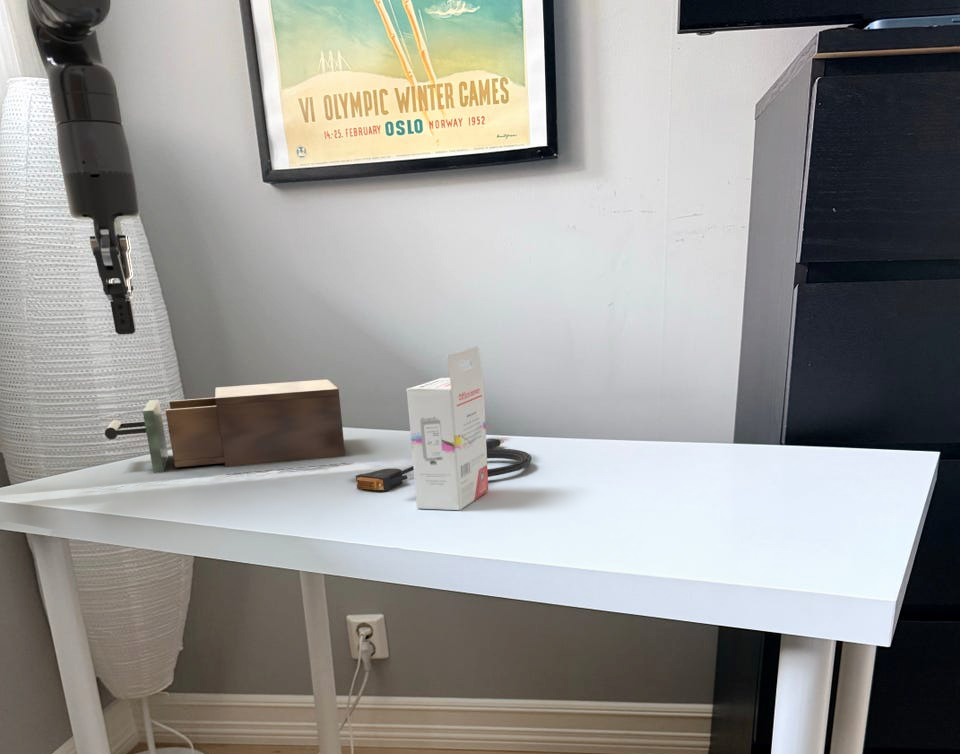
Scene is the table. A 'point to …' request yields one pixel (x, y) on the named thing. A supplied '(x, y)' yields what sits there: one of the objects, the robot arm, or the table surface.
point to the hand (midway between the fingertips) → (126, 333)
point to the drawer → (178, 432)
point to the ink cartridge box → (449, 435)
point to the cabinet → (280, 422)
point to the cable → (393, 476)
